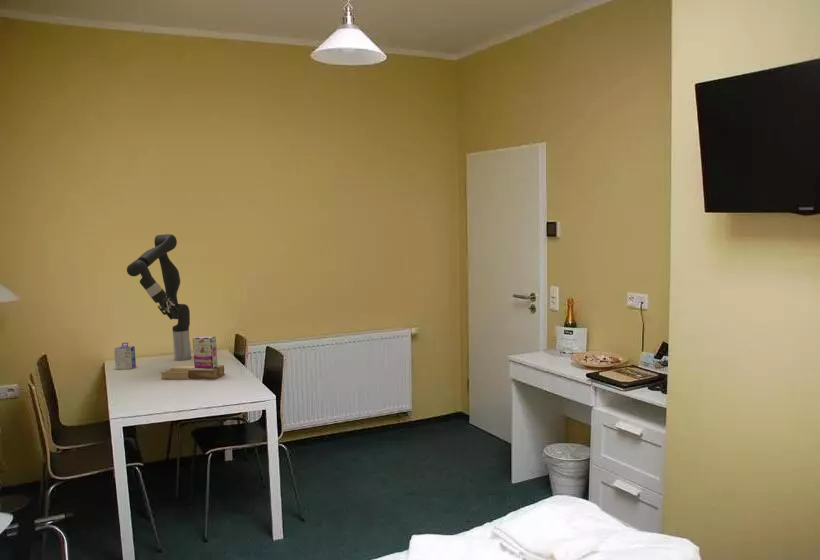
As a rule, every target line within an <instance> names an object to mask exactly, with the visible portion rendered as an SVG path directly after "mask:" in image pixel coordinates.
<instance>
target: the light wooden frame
mask: <svg viewBox="0 0 820 560" xmlns="http://www.w3.org/2000/svg"><path fill="white" fill-rule="evenodd" d="M194 367H195V365H172V366H171V367H170V368H169V369H166V370H164V371H159V373H160V374H161V376H160V377H161V379H162V378H168V380H171V379H174V380H176V379H177V380H189V379H188V378H189V374H188V370H190V369H192V368H194Z"/></svg>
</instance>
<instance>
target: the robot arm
mask: <svg viewBox="0 0 820 560" xmlns="http://www.w3.org/2000/svg"><path fill="white" fill-rule="evenodd" d="M177 241H178V240H177V237H176V236H175V235H174V234H169V233H166V234H157V235H155V237H154V243H153V244H154V247H152V248H149V249H147V250H146V251H144V252H143V253H142V254H141V255H140V256H139V257H138V258H137V259H135V260H134V261H132V262H131V263H130V264H128V265H127V267H126V273H127V275H129V276H130V277H137V276H141V278H140V280H139V283H140V285H141V286H142V287H143V289H144V290H145V291H146V293H147V295H148V296H149V298H151V299H152V301H153V302H154V303H155V304H159V305H157V308H158V309H159V311H160V313H162V315H163V316H165V315H166V316H167V317H168V318H169V320H170V321H171V320H177V324H176V325H173V326H172V341H173V355H174V361H187V360H190V359H191V358H192V351H191V350H192V349H191V340H190V323H191V319H190V318H191V317H190V315H191V314H190V307H189V306H188V305H187V304H185V303H179V302H178V296H177V295H178V292H179V289H180V286H181V278H180V272H179V270H178V268H177V267H176V265H175V264H174V263H173V262H172V261H171V260H170V258H169V255H168V253H169V252H171V251H172V250H174V249H176V247H177V244H178V242H177ZM157 260H158V261H159V264H160V270H161V274H162V275H161V276H162V281H163V285H164V289H163V288H162V286H161V285H160V284H159V283H158V282H157V280H155V278H154V277H153V275H152V273H151V271H150V268H149V267H150V266H151V265H153V264H154V263H155V262H156V261H157Z"/></svg>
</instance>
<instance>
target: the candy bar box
mask: <svg viewBox="0 0 820 560" xmlns="http://www.w3.org/2000/svg"><path fill="white" fill-rule="evenodd" d="M216 338H217V337H216V336H214V335H213V336H210V335H209V336H206V335H205V336H204V335H203V336H200V335H197V336H195V337H194V336H193V337H192V346H193V360H194V361H193V363H194V365H193V366H195V368H210V369H213V368H216V367H218V355H217V354H218V353H217V339H216Z"/></svg>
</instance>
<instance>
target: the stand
mask: <svg viewBox="0 0 820 560" xmlns="http://www.w3.org/2000/svg"><path fill="white" fill-rule="evenodd" d="M217 365H218V364H217ZM188 374H189V379H188V380H190V379H215V378H216V379H218V378H220V377H222V376H224V375H225V365H222V364H221V365H220V364H219V365H218V367H216V368H213V369H210V368H195V367H194V368H192V369H190V370H188ZM223 374H224V375H223ZM221 375H222V376H221ZM219 376H220V377H219ZM217 377H218V378H217ZM216 379H215V380H216Z"/></svg>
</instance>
